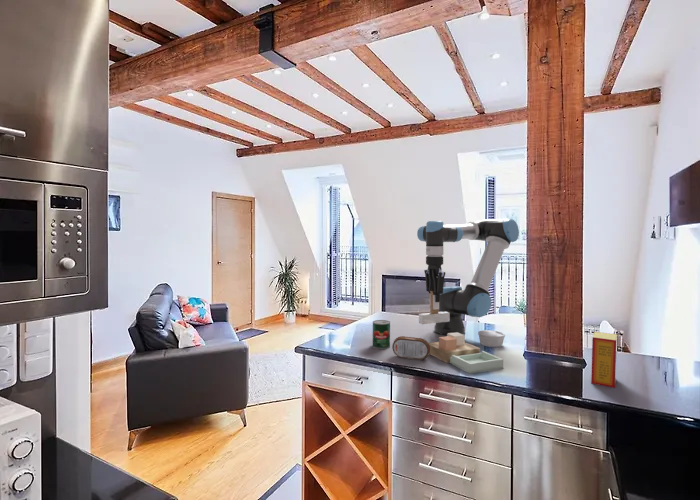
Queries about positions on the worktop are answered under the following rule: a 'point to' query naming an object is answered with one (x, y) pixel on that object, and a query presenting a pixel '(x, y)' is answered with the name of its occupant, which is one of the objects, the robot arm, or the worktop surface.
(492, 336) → the ramekin
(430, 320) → the scraper
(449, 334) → the cream block
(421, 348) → the tin
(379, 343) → the canned tomato
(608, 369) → the baking soda box
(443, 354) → the tan flat block
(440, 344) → the terracotta block
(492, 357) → the box
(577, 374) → the worktop surface
